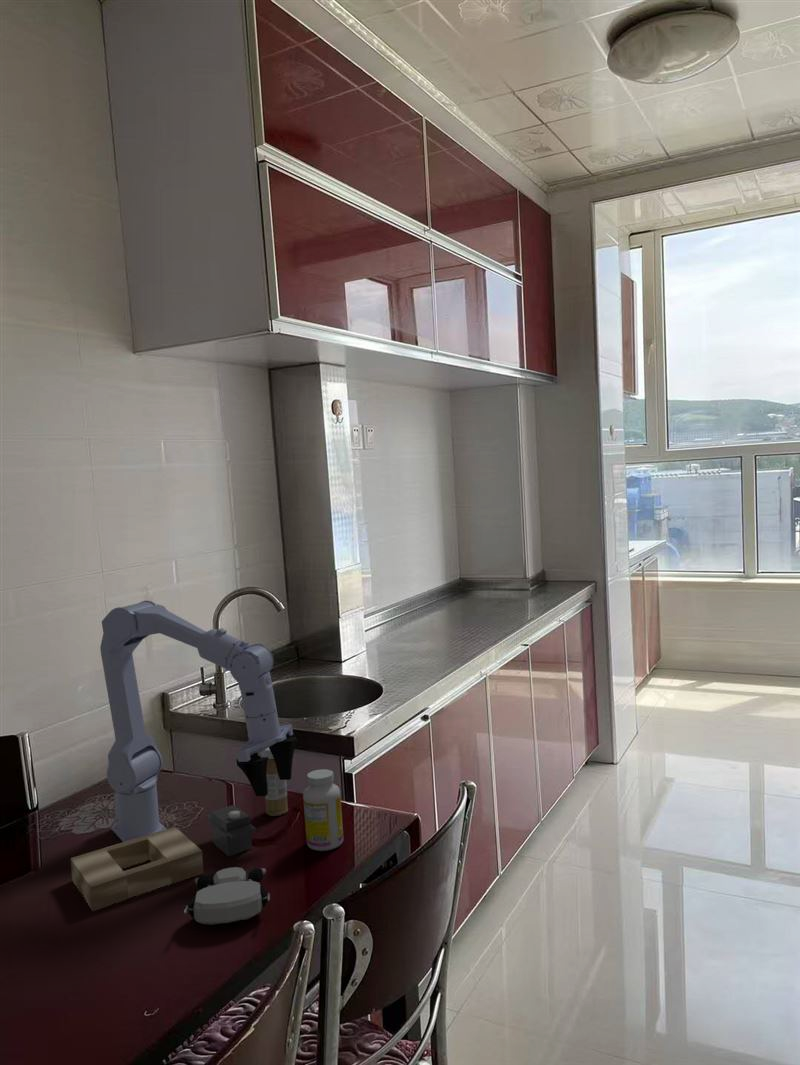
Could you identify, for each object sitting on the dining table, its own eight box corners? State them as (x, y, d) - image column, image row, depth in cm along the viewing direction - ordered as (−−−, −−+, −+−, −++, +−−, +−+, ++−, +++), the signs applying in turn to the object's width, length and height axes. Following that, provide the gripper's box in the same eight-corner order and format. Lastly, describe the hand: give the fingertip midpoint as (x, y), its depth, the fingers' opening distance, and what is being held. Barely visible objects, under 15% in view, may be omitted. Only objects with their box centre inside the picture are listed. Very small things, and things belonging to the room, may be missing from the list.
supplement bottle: (332, 832, 146) (328, 764, 145) (350, 844, 140) (346, 773, 139) (300, 843, 142) (295, 773, 141) (317, 856, 136) (312, 783, 136)
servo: (207, 839, 146) (205, 803, 146) (230, 832, 149) (228, 796, 148) (234, 861, 136) (231, 823, 136) (258, 853, 139) (255, 816, 139)
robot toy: (193, 896, 127) (184, 940, 112) (191, 868, 127) (182, 908, 112) (270, 884, 129) (271, 926, 115) (268, 857, 129) (269, 895, 115)
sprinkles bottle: (281, 805, 160) (276, 740, 159) (292, 812, 156) (288, 745, 155) (261, 812, 157) (256, 746, 156) (272, 819, 153) (268, 751, 153)
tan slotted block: (72, 880, 133) (70, 858, 132) (176, 847, 143) (174, 826, 143) (92, 911, 122) (90, 887, 122) (203, 873, 133) (201, 850, 132)
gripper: (255, 724, 133) (269, 803, 134) (301, 700, 146) (313, 772, 147) (222, 726, 136) (236, 803, 137) (269, 702, 150) (282, 772, 150)
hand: (274, 787), depth 142 cm, fingers open, 7 cm apart
